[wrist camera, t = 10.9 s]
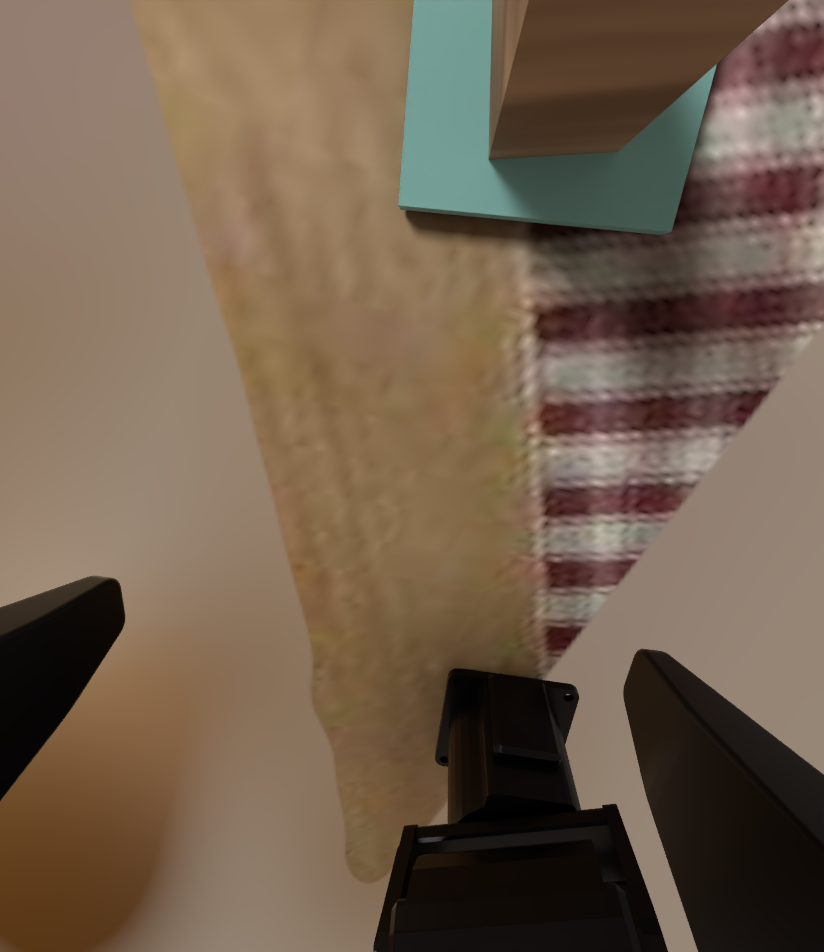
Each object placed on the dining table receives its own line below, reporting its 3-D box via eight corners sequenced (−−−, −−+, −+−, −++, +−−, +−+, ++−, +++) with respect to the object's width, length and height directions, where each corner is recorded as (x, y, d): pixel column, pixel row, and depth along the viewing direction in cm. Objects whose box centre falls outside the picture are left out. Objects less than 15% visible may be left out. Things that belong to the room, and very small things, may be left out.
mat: (661, 235, 16) (671, 232, 15) (401, 209, 16) (398, 205, 15) (740, -66, 13) (757, -88, 12) (424, -88, 13) (422, -110, 13)
